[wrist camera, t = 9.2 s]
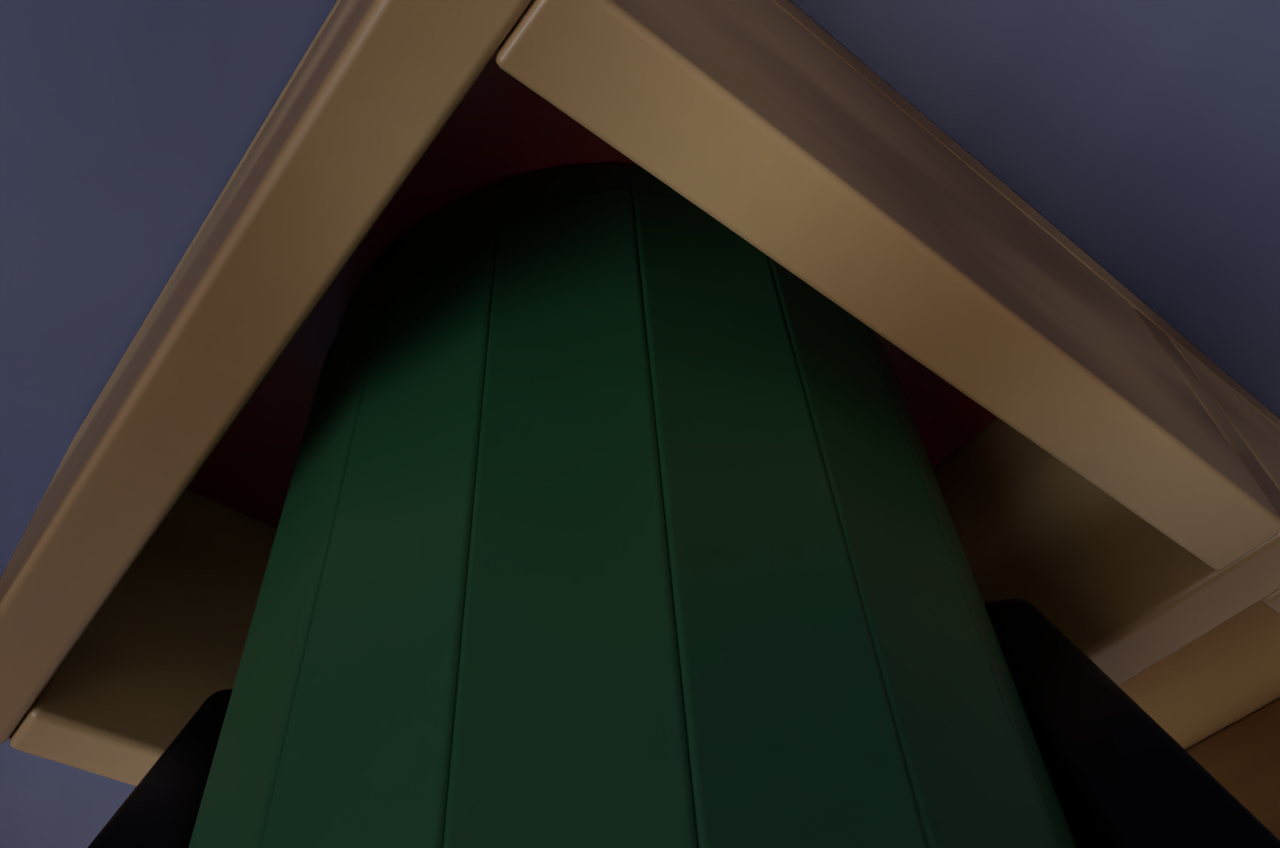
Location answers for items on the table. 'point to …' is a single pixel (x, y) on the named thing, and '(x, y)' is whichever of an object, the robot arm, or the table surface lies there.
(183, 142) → the table surface
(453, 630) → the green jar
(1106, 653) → the wooden divided tray
